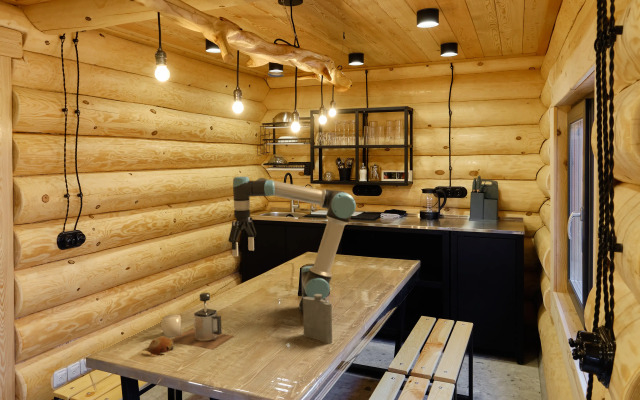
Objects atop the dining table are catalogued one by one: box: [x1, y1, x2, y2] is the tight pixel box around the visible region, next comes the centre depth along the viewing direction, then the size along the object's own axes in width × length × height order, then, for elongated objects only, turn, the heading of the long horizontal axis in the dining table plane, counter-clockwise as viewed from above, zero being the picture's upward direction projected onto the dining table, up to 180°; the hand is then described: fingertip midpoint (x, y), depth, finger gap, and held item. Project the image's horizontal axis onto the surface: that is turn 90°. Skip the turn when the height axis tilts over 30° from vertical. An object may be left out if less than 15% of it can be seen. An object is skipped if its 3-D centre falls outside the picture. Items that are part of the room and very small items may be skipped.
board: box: [170, 327, 235, 351], centre depth 219 cm, size 24×16×1 cm, turn 65°
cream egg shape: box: [160, 314, 182, 338], centre depth 224 cm, size 9×8×9 cm
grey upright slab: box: [302, 294, 333, 345], centre depth 218 cm, size 16×4×20 cm, turn 49°
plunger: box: [199, 292, 211, 313], centre depth 219 cm, size 7×7×18 cm
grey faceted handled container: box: [193, 308, 223, 341], centre depth 219 cm, size 13×10×12 cm
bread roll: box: [148, 335, 175, 356], centre depth 209 cm, size 10×10×8 cm
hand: (243, 253), depth 236 cm, fingers open, 13 cm apart
